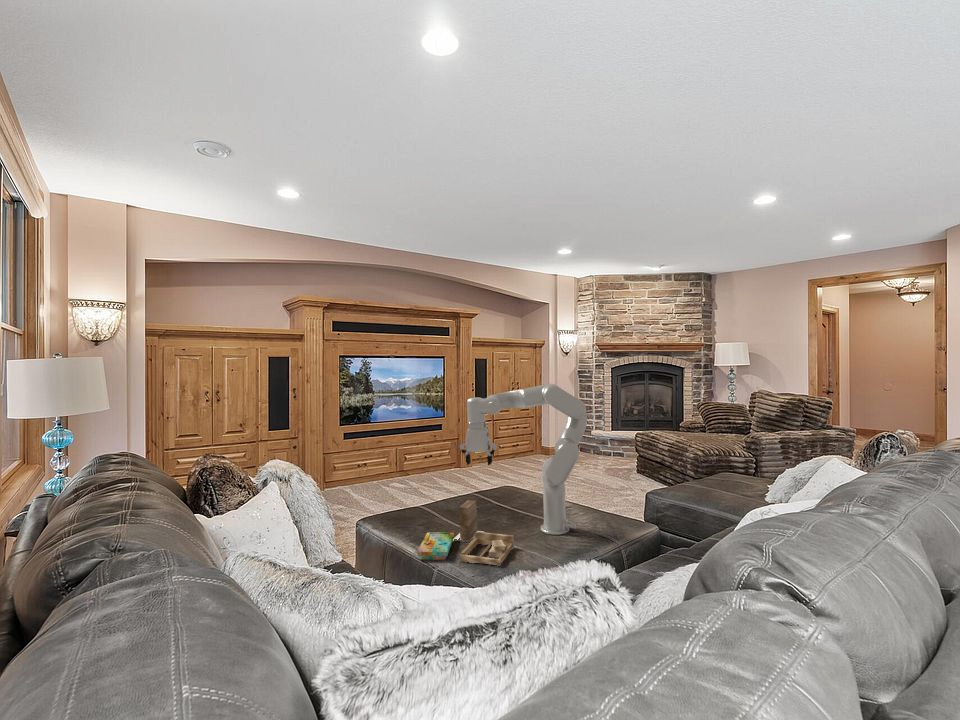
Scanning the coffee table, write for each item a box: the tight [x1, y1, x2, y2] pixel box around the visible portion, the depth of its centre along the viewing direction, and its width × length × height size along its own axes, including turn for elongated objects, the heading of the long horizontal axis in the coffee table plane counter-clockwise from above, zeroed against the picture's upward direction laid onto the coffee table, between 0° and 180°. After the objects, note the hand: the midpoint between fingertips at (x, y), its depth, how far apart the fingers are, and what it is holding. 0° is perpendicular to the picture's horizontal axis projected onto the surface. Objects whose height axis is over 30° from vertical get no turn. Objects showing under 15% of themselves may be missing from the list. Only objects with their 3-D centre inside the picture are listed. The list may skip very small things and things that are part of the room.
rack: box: [459, 531, 515, 565], centre depth 203 cm, size 16×18×5 cm
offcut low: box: [488, 545, 506, 557], centre depth 202 cm, size 5×8×3 cm, turn 164°
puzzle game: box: [416, 532, 456, 561], centre depth 208 cm, size 12×5×20 cm
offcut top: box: [491, 540, 505, 552], centre depth 202 cm, size 4×6×2 cm, turn 9°
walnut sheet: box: [458, 499, 478, 540], centre depth 221 cm, size 4×10×14 cm, turn 160°
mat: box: [452, 530, 484, 542], centre depth 221 cm, size 10×13×1 cm
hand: (479, 464), depth 226 cm, fingers open, 9 cm apart
